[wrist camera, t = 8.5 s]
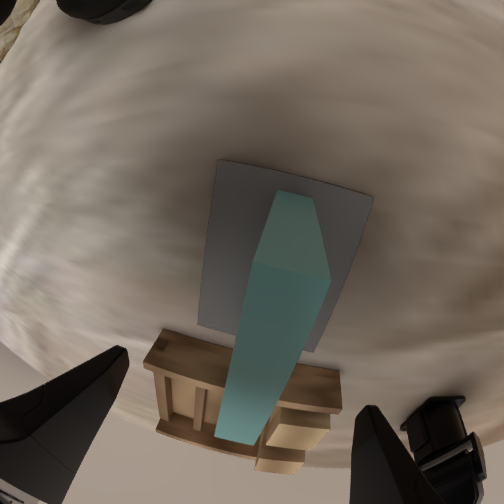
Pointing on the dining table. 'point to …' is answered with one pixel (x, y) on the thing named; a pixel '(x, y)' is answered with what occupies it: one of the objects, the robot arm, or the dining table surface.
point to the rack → (221, 391)
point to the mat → (250, 231)
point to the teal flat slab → (274, 316)
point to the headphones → (86, 9)
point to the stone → (15, 24)
